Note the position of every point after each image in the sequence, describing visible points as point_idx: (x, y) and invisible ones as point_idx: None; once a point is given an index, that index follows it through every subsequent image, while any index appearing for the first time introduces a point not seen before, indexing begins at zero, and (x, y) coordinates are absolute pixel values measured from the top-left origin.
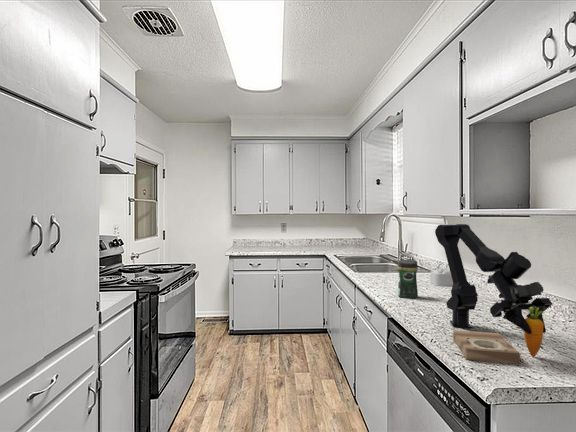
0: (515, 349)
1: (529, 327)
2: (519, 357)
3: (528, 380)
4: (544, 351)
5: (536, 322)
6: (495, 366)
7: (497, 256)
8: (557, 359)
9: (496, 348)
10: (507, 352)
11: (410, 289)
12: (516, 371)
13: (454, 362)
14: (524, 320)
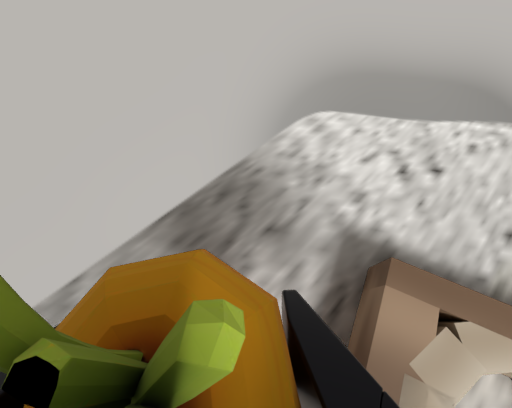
0: (379, 319)
1: (290, 319)
2: (382, 263)
3: (425, 148)
4: None
5: (220, 267)
6: (498, 268)
7: None
8: None
9: (503, 366)
10: (458, 284)
11: None
12: (427, 210)
13: None
14: (353, 403)
